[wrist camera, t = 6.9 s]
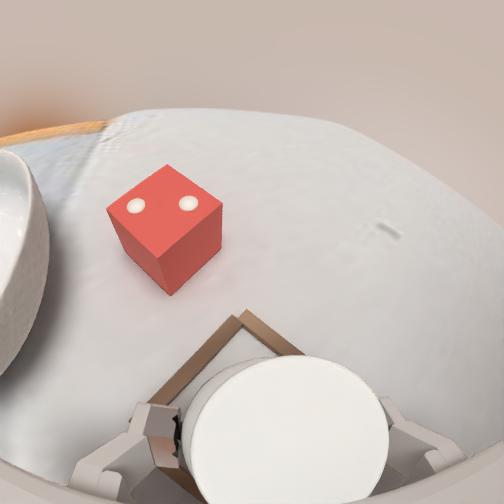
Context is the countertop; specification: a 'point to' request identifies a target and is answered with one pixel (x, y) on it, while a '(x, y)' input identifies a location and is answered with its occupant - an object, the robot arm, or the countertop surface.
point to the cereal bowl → (20, 254)
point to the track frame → (202, 360)
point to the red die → (168, 227)
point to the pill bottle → (285, 434)
